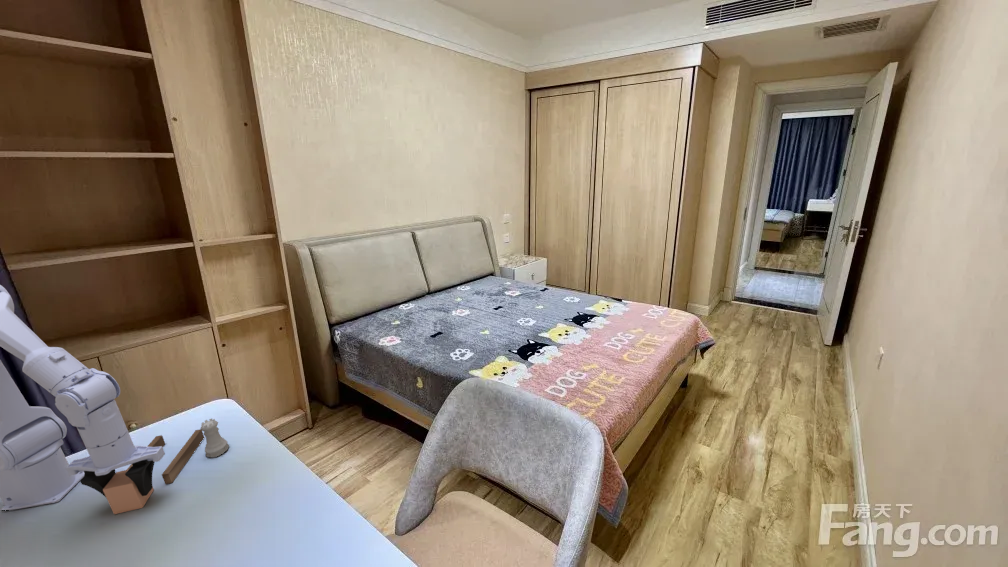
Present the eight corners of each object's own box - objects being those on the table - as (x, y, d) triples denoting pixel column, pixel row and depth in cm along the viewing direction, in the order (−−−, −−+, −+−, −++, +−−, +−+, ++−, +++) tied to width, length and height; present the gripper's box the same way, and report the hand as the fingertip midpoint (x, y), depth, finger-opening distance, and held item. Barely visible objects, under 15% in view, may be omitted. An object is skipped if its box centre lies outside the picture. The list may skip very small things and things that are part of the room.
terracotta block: (114, 514, 76) (102, 489, 74) (127, 495, 80) (116, 472, 78) (142, 507, 78) (132, 483, 76) (154, 489, 82) (144, 466, 80)
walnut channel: (119, 492, 81) (115, 482, 81) (159, 444, 94) (156, 436, 94) (172, 483, 83) (168, 473, 82) (204, 437, 96) (201, 429, 95)
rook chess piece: (220, 458, 89) (210, 428, 87) (201, 458, 90) (190, 429, 87) (233, 444, 94) (224, 415, 91) (215, 444, 94) (205, 415, 91)
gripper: (41, 460, 69) (71, 520, 73) (138, 445, 72) (162, 503, 76) (73, 433, 75) (99, 489, 80) (161, 420, 78) (182, 475, 83)
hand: (131, 494), depth 78 cm, fingers closed on terracotta block, 5 cm apart
